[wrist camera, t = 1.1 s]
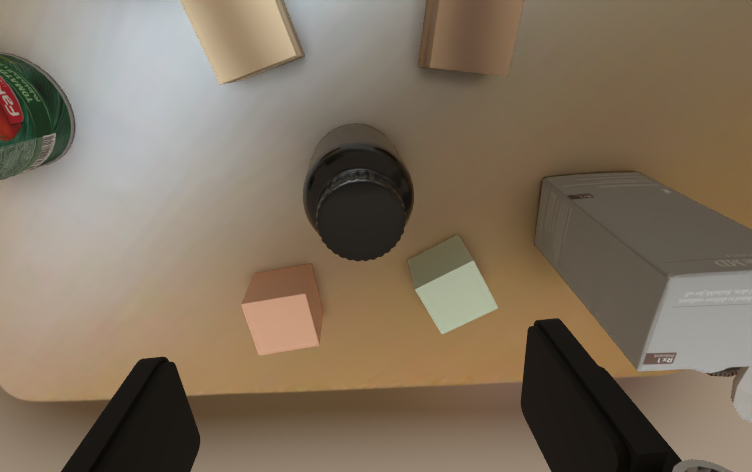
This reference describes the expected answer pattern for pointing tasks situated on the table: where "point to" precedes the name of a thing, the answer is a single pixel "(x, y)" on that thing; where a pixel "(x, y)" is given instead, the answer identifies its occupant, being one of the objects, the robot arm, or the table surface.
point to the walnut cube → (470, 35)
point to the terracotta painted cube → (283, 309)
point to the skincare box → (652, 269)
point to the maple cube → (243, 35)
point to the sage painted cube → (450, 284)
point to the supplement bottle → (358, 193)
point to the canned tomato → (31, 117)
